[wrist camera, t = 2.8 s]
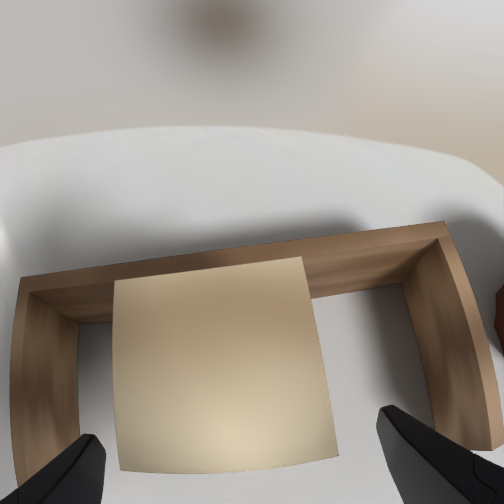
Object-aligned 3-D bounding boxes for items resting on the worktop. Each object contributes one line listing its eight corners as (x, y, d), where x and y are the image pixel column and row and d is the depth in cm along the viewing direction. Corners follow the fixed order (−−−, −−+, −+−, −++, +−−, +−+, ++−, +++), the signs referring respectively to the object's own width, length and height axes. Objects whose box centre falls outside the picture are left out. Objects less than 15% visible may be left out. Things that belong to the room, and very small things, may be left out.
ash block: (293, 428, 16) (338, 455, 6) (209, 437, 16) (120, 470, 5) (281, 349, 18) (301, 256, 8) (200, 359, 18) (114, 280, 8)
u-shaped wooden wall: (449, 442, 14) (505, 442, 9) (74, 484, 14) (19, 495, 8) (407, 267, 21) (443, 220, 15) (69, 311, 20) (20, 277, 15)
